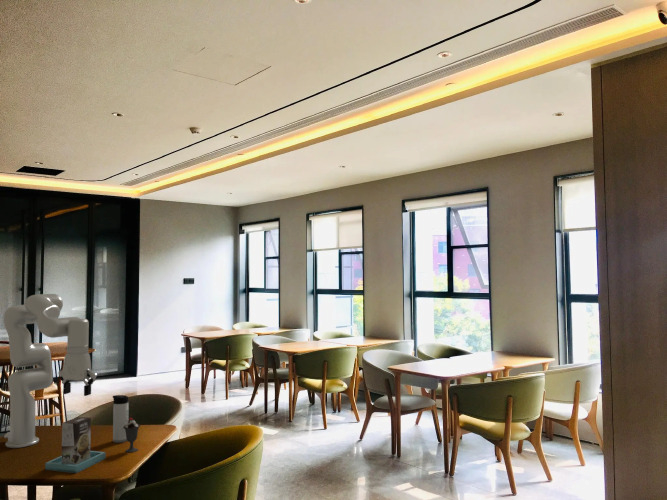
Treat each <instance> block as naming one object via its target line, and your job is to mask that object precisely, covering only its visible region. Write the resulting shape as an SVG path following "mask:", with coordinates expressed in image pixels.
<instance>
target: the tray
mask: <svg viewBox="0 0 667 500" xmlns="http://www.w3.org/2000/svg"><path fill="white" fill-rule="evenodd" d="M106 453H107V452H105V451H98V450H97V451H96V450H90V459H88V460H86V461H84V462H82V463H80V464H78V465H70V464H61V457H62V455H60V456H58V457H55V458H54V459H51V460H48V461H47V462H45V469H44V470H47V471H54V472H55V471H56V472H61V473H62V472H63V473H71V474H77V473H80V472H81V471H84V470H86V469H87V468H89V467H91V466H93V465H96V464H98V463H99V462H102V461H103V460H106V459H107V456H106Z"/></svg>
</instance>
